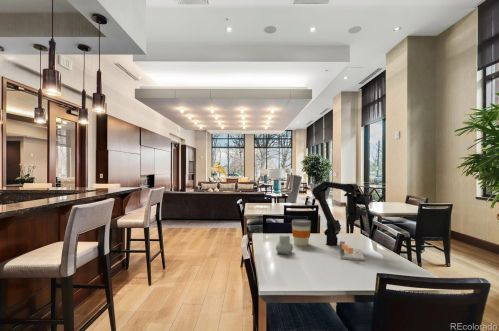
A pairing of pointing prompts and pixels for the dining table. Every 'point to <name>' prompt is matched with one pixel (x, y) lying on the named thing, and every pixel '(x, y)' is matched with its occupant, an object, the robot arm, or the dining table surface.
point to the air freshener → (284, 244)
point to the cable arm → (346, 247)
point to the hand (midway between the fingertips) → (351, 229)
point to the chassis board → (352, 255)
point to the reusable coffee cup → (301, 231)
